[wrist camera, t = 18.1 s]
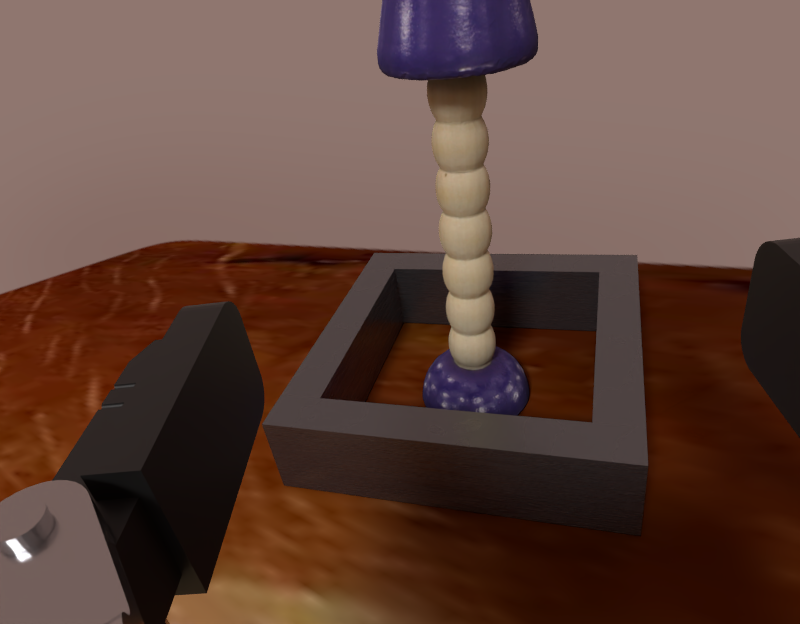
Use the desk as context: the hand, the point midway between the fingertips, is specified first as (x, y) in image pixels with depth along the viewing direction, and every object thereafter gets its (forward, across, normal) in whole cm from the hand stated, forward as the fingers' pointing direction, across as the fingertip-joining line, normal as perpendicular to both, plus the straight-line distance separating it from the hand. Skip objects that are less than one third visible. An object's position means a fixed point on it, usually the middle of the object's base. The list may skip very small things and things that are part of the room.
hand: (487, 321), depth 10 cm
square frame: (+11, 0, +11) cm, 16 cm away
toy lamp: (+11, 0, +11) cm, 16 cm away
